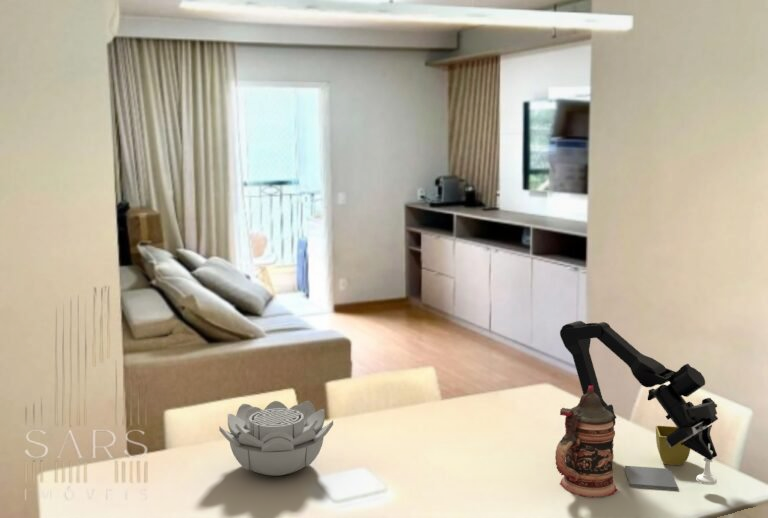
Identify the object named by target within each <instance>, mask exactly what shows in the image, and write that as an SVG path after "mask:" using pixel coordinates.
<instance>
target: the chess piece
mask: <svg viewBox="0 0 768 518" xmlns="http://www.w3.org/2000/svg"><path fill="white" fill-rule="evenodd" d="M708 449H709V451H710V452H711V454H712V453H713V451H712V450H710V444H709V443H708ZM703 461H704V462H705V464H704V469H703V472H702V473H699V474H698V475H696V478H695V479H696V481H697V482H698V483H700V484H702V485H707V486H708V485H709V486H712V485H716V484H718V482H717V480H718V479H717V478H716V477H715V476H713V475H712V474H711V463H712V462H713V459H711V460H709V459H707V458H705V457H704V458H703Z"/></svg>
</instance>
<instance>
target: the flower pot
mask: <svg viewBox="0 0 768 518" xmlns="http://www.w3.org/2000/svg"><path fill="white" fill-rule="evenodd" d="M676 429H678V428H677V426H671V425H670V426H668V425H655V440H656V441H655V443H656V447H657V450H658V453H659V456H660V459H661V462H662V464H663V465H670V466H683V465H685V463H686V462H687V460H688V458H689V456H690V453H691V452H690V451H691V449H690V448H688V447H686V446H684V445H681V443H683V442H684V440H682V441H680V442H679V443H677V444H676V445H675V446H673V447H670V446H669V444H668V443H667V442H666V440H667V436H668V435H670V434H671V433H673V432H674V431H676Z"/></svg>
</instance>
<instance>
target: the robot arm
mask: <svg viewBox="0 0 768 518" xmlns="http://www.w3.org/2000/svg"><path fill="white" fill-rule="evenodd" d="M559 336H560V339H561V341H562V343H563V345H564V347H565V349H566V350H567V351H568V352H569V353H570V354H571V357H572V359H573V363H574V366H575V370H576V373H577V376H578V380H579V383H580V388H581V390H582V395H584V394H586V393H587V390H588V389H589V386H594V387H593V388H594V393H595V394H597V395H598V396H599V398H600V401H601V404H602V406H603V407H604V408H605V409H607V410H609V411H610V412H612V413H613V414H614V419H613V425H614V426H615V425H616V419H617V415H616V414H615V411H614V406H613V404H607V403H606V401H605V400H604V399H603V396H602V392H601V387H600V385H599V381H598V378H597V374H596V371H595V367H594V363H593V360H592V356H591V353H590V348H591V340H592V339H597V340H599V342H601V343H602V344H603V345H604V346H605V347H607V348H608V349H609V350H610V351H611V352H612V353H613V354H615V355H616V356H617V357H618V358H619V359H620V360H621V361H623V362H624V363H625V365H627V366H628V368H629V369H630V371H631V374H632V375H633V377H634V378H635V379H636V380H637V382H638V383H639V384H640V385H641V386H642V387H645V388H651V389H648V395H647V401H651V400H654V399H656V400H657V401H658V403H659V404H660V406H661V407H662V409H663V410H664V411H665V413H666V414H667V415H666V416H665V418H666V420H671V421H672V422H673V423H674V426H675V427H677V428H678V429H676V431H674V432H673V433H671V434H670V435H668V436H667V440H666V442H667V443H668V444H669V446H670V447H673V446H675V445H676V444H677V443H679V442H680V441H682V440H684V442H683V443H681V445H684V446H686V447H688V448H690V450H692V451H694V452H696V453H697V454H698V455H700V456H703V457H704V458H707V459H709V460H711V459H712V460H713V459H714V458H715V457H718V453H717V451H716V448H715V446H714V445H715V444H714V442H713V439H712V437H711V430H712V427H713V423H715V422H716V421H718V420H719V417H718V416H717V415H718V412H717V408H718V404H717V403H715V401H714V400H712V397H707V398H703V399H702V400H701V403H699V404H696V405H694V403H692V401H686V400H685V399H684V397H686V398H687V397H689V396H691V395H692V394H694V393H696V391H699V389H701V388H702V387H704V386H705V385H706V380H705V377H704V375H703V374H702V373H701V372H700V371H699V370H697V368H695V367H692V366H691V365H690V364H689V363H686V364H683V365H682V366H681V367H680V368H679V369H678V370H677V371H674V370H672V369H669V368H667V367H665V365H664V364H662V363H661V362H659V361H657V360H656V359H654V357H650V356H647V355H645V354H643V353H641V352H640V351H639V350H638V349H636V348H635V347H634V346H633V345H632V344H630V343H629V342H628V341H627V340H626V339H625V338H624V337H623V336H621V335H620V334H619V333H618V332H616V330H614V329H613V328H612V327H611V326H610V324H609V323H607V322H605V321H602V322H588V323H585V321H582V320H577V321H574V322H570V323H566V324H564V325H562V326H561V329H560V330H559ZM668 382H669V383H668ZM666 383H668V384H666ZM655 386H658V387H656V388H653V387H655ZM708 443H709V444H710V450H712V451H713V453H712V454H711V452H710V451H709V449H708Z"/></svg>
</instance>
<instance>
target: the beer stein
mask: <svg viewBox="0 0 768 518" xmlns="http://www.w3.org/2000/svg"><path fill="white" fill-rule="evenodd" d="M593 387H594V386H589V389H588V390H587V393H586V394H584V395H583V394H582V395H581V397H580V400H579V402H578V404H577V405H576V406H575V405H574V406H573V407H572V408H565V407H562V408H561V409H560V413H559V415H560V416H564V417H565V421H564V427H565V434H564V435H563V436H562V438H561V440H559V441H558V443H557V445H556V449H555V458H554V459H555V465H556V469H557V472H559V474H560V476H563V477H562V478H561V481H560V482H559V485H560V486H561V487H562V488H563V489H565V490H566V491H567V492H570V493H572V494H574V495H578V496H582V497H584V498H585V497H587V498H602V497H609V496H612V495H614V494H615V493H616V492H617V491H618V488H617V487H616V484H615V482H614V474H615V470H614V467H613V466H614V464H613V463H614V444H615V443H614V438H615V436H616V430H615V425H613V419H614V414H615V413H614V414H613V413H612V412H610V411H609V410H607V409H605V408H604V407H603V406H602V404H601V401H600V398H599V396H598V395H597V394H595V393H594V388H593Z"/></svg>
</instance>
